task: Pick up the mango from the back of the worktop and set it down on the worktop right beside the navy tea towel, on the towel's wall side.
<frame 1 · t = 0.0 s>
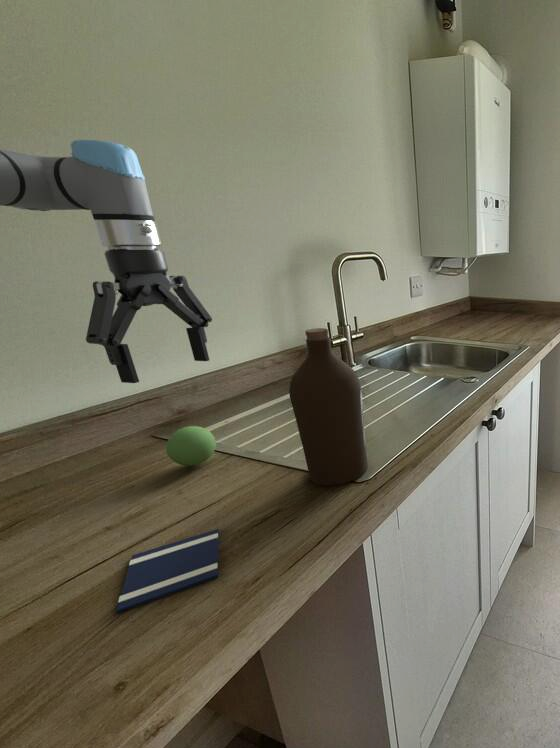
hand: (169, 370, 75), 16 cm above the table, tool pointing down, fingers open, 13 cm apart
olive oil: (340, 472, 71), on the table
towel: (174, 567, 50), on the table
mango: (191, 445, 73), point 3 cm above the table
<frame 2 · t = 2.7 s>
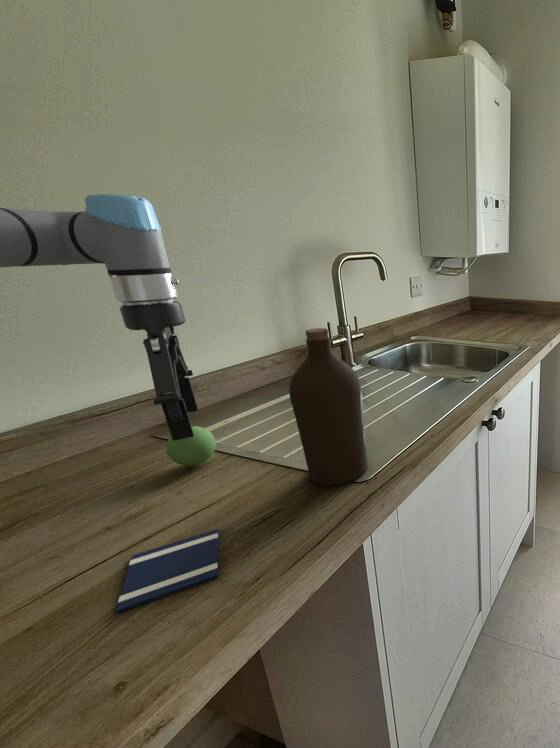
hand: (186, 424, 72), 8 cm above the table, tool pointing down, fingers open, 13 cm apart
nothing on the table moved.
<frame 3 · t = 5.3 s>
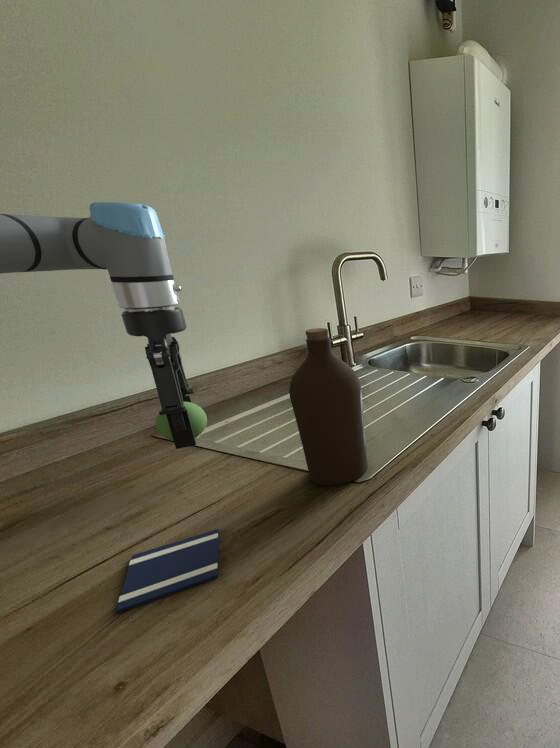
hand: (187, 437, 73), 5 cm above the table, tool pointing down, fingers closed on mango, 7 cm apart
mango: (182, 421, 72), point 8 cm above the table, touching gripper
everything else where it was.
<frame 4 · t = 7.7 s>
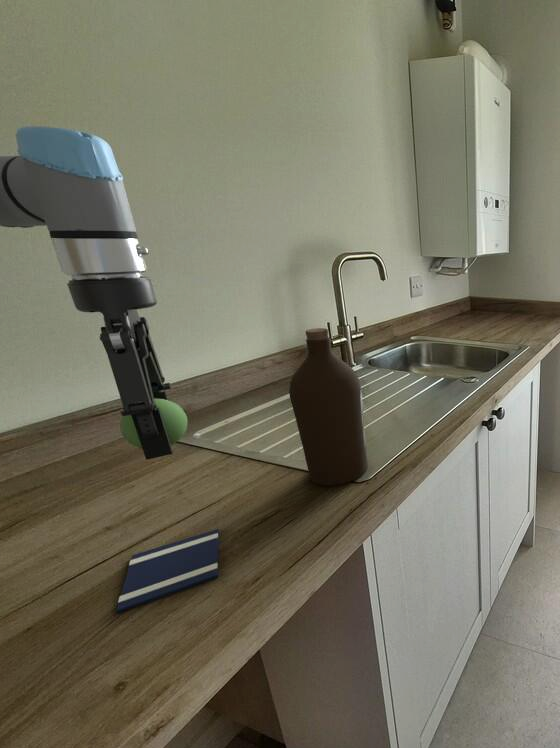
hand: (162, 444, 57), 11 cm above the table, tool pointing down, fingers closed on mango, 7 cm apart
mango: (155, 424, 56), point 14 cm above the table, touching gripper
everything else where it was.
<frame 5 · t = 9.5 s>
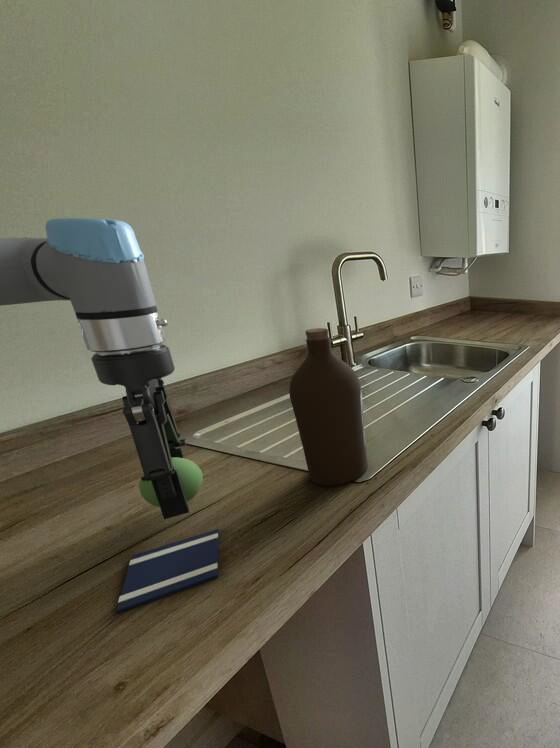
hand: (179, 500, 60), 2 cm above the table, tool pointing down, fingers closed on mango, 7 cm apart
mango: (172, 482, 59), point 5 cm above the table, touching gripper
everything else where it was.
when the fingers open (0 cm above the table, at t = 10.4 s): mango stays where it is, point 3 cm above the table.
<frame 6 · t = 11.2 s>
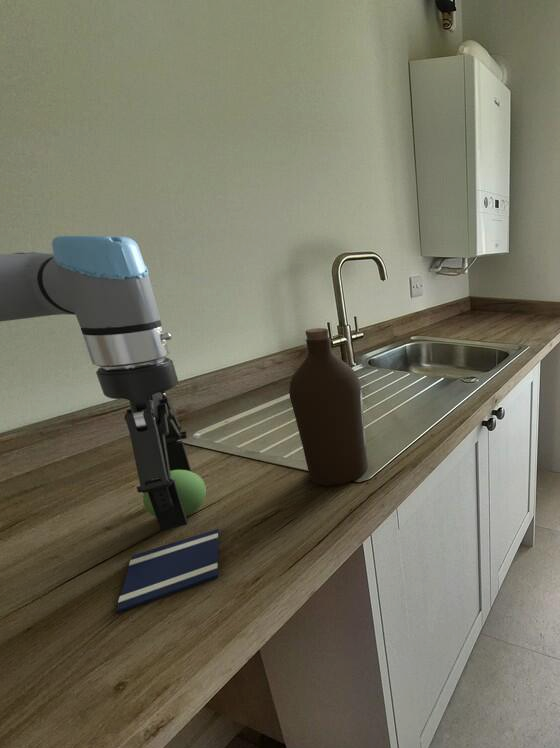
hand: (178, 501, 60), 2 cm above the table, tool pointing down, fingers open, 13 cm apart
mango: (175, 494, 59), point 3 cm above the table, tilted 9°
everything else where it was.
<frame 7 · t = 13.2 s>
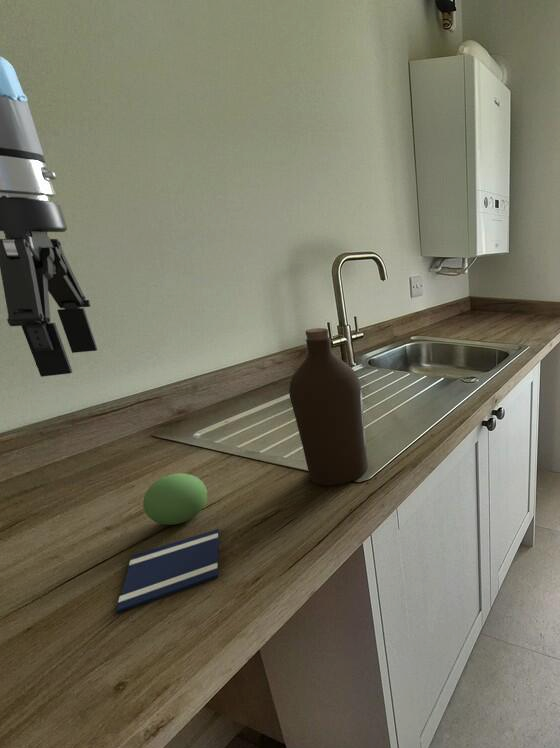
hand: (72, 362, 58), 22 cm above the table, tool pointing down, fingers open, 13 cm apart
mango: (176, 498, 58), point 3 cm above the table, tilted 31°
everything else where it was.
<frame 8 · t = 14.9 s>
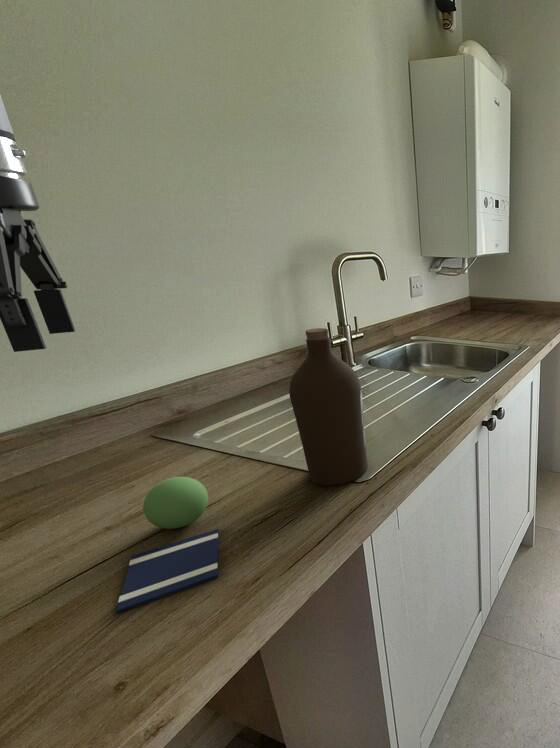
hand: (48, 340, 58), 25 cm above the table, tool pointing down, fingers open, 13 cm apart
mango: (176, 502, 57), point 3 cm above the table, tilted 50°
everything else where it was.
at the end: mango inside the target area on the table beside the towel (3.0 cm from its centre), point 3.5 cm above the table; the gripper is holding nothing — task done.
